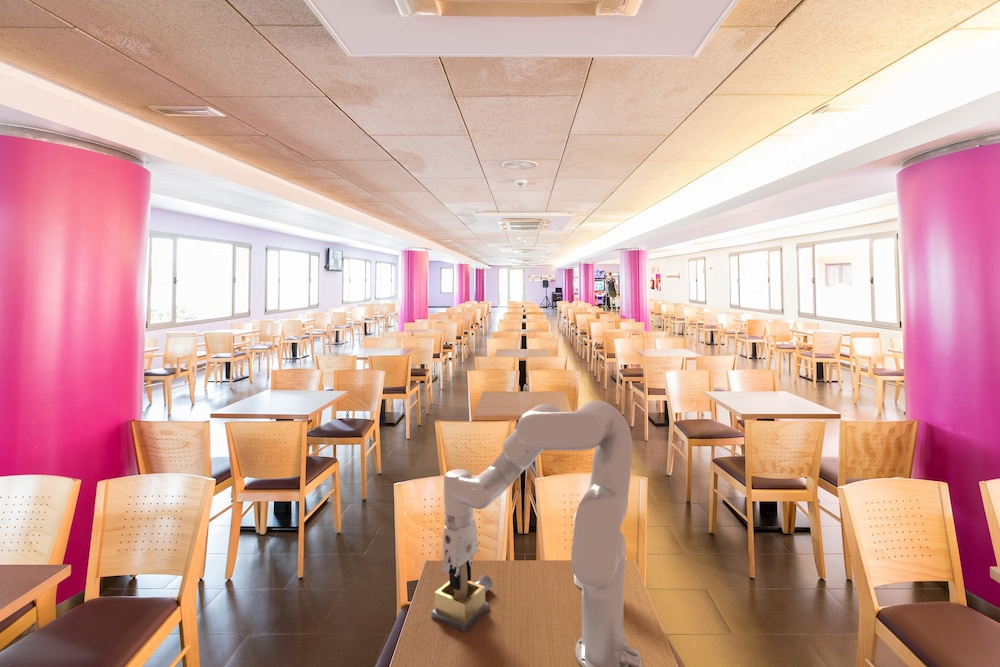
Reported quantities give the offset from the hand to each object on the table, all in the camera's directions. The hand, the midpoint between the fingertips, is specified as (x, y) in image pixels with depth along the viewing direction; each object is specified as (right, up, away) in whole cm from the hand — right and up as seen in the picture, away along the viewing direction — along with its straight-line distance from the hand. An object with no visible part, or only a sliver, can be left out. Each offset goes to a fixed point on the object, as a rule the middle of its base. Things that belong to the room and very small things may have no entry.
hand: (460, 583), depth 127 cm
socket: (+2, -8, +4) cm, 9 cm away
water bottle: (+36, -7, +12) cm, 38 cm away
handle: (0, -4, 0) cm, 4 cm away
